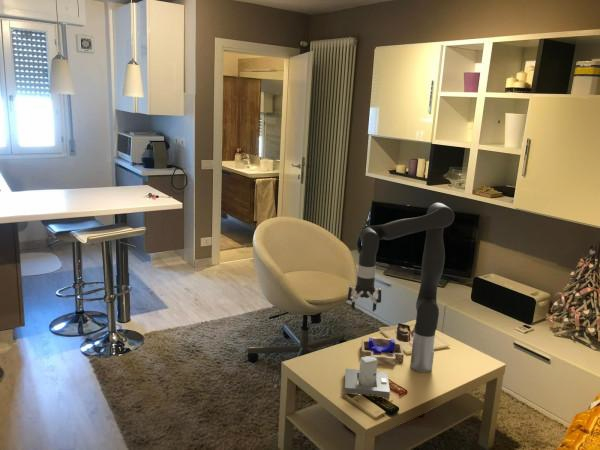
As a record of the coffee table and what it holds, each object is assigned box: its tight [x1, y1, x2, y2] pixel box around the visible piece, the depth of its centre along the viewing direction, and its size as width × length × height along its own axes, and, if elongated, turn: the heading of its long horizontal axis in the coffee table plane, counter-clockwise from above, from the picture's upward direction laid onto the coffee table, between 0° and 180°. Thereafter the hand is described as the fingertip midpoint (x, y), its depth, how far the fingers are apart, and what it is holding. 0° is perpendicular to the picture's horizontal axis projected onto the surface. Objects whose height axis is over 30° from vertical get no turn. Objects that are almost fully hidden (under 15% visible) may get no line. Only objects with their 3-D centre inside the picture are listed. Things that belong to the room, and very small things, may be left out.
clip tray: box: [360, 336, 405, 366], centre depth 236 cm, size 19×19×4 cm
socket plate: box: [344, 368, 391, 399], centre depth 209 cm, size 18×15×4 cm
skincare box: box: [358, 356, 378, 387], centre depth 208 cm, size 6×4×12 cm
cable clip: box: [367, 336, 396, 355], centre depth 238 cm, size 12×4×6 cm, turn 85°
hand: (363, 310), depth 216 cm, fingers open, 8 cm apart
